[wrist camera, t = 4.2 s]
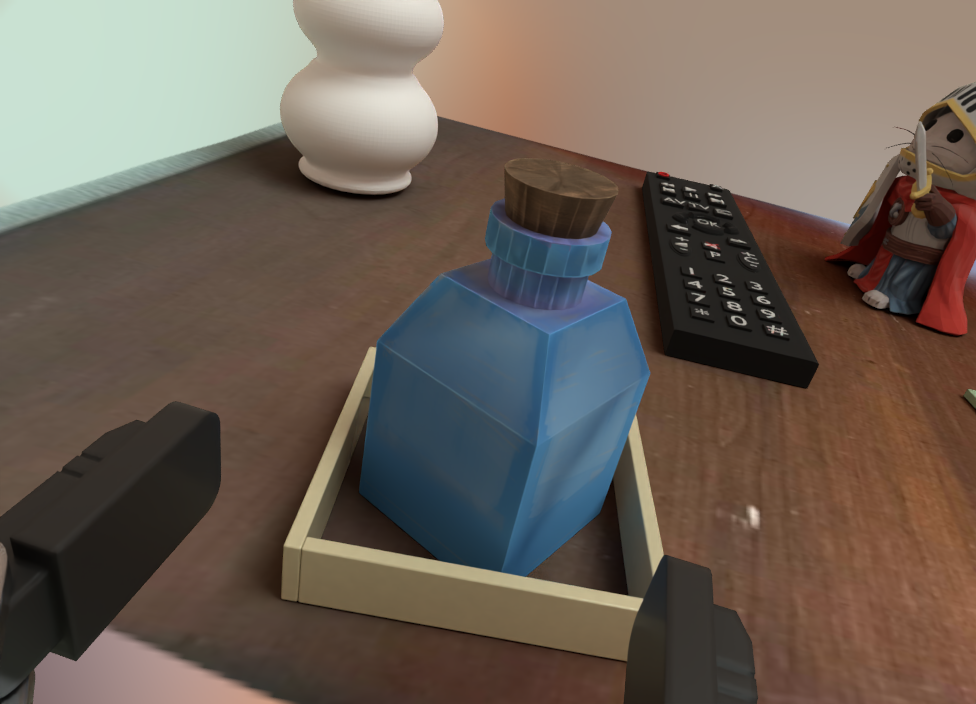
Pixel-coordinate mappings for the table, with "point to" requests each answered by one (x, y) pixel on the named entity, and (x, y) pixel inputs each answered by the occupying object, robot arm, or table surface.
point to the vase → (363, 93)
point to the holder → (462, 589)
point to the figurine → (922, 220)
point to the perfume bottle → (509, 383)
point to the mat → (971, 397)
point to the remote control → (719, 285)
